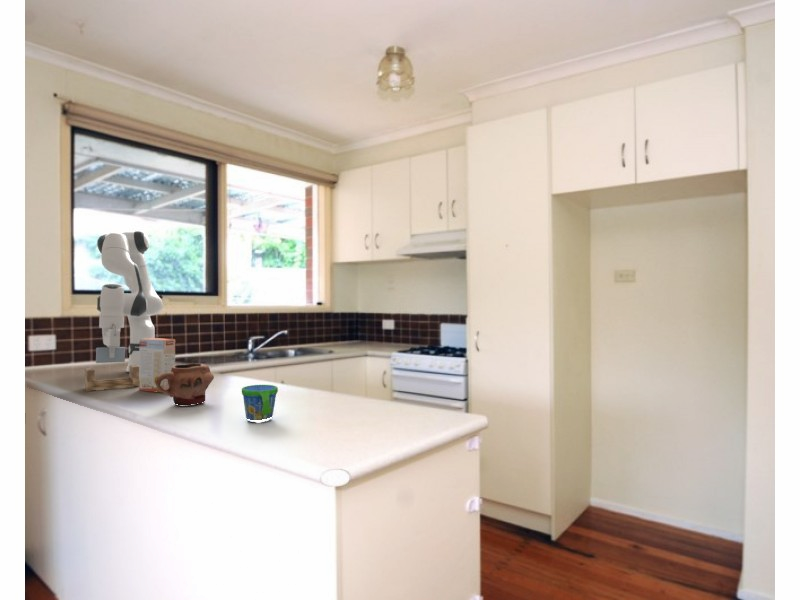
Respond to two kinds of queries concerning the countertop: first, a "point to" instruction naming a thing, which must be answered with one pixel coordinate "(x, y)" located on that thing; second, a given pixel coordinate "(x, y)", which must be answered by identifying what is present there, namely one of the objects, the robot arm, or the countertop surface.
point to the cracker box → (155, 362)
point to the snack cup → (259, 401)
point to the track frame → (111, 380)
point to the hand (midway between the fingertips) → (110, 357)
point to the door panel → (103, 355)
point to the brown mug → (187, 383)
